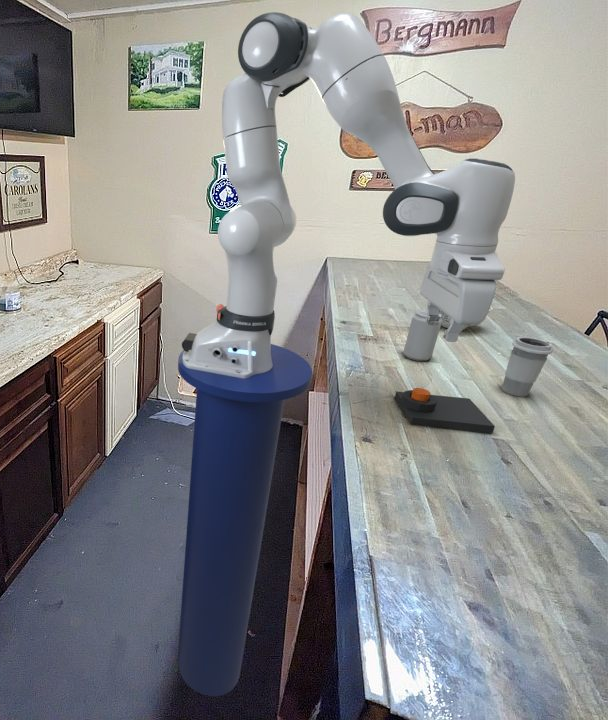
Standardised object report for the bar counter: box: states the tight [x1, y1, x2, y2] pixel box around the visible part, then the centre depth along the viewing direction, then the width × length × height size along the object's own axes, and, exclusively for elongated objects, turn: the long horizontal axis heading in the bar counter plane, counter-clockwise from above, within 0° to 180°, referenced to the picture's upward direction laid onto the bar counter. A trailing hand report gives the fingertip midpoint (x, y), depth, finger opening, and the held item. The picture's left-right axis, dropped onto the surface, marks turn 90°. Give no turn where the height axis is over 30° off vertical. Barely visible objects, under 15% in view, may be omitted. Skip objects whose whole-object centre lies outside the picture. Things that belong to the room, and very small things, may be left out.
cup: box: [501, 336, 554, 397], centre depth 99 cm, size 7×7×12 cm
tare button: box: [411, 387, 431, 402], centre depth 92 cm, size 3×3×2 cm
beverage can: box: [402, 309, 442, 362], centre depth 117 cm, size 6×6×12 cm
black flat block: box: [394, 389, 496, 434], centre depth 92 cm, size 14×11×4 cm
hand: (439, 332), depth 86 cm, fingers open, 8 cm apart
